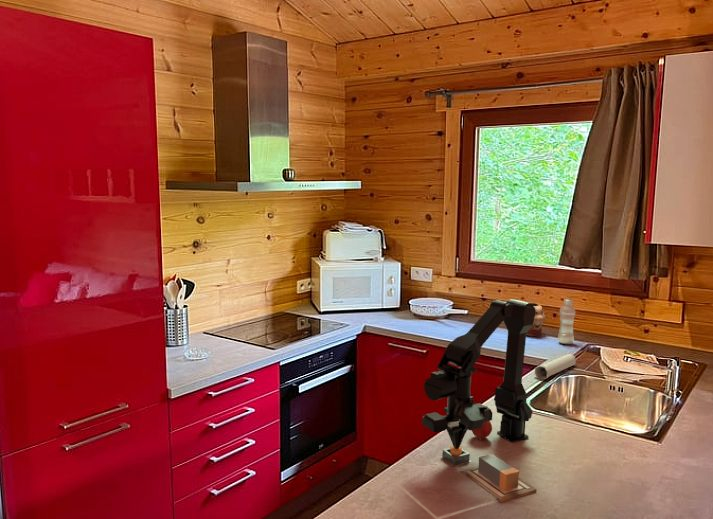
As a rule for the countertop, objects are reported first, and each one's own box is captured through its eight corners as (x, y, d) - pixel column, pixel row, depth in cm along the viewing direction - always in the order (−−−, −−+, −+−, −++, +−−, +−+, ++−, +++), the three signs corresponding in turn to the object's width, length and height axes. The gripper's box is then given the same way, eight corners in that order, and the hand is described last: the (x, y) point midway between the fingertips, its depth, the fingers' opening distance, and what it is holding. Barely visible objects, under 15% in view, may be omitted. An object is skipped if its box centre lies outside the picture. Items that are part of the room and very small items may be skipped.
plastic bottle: (575, 346, 268) (579, 301, 265) (559, 345, 269) (563, 300, 265) (570, 341, 275) (574, 297, 272) (555, 341, 275) (558, 297, 272)
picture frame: (494, 464, 161) (494, 461, 160) (536, 491, 148) (536, 488, 147) (460, 473, 155) (460, 470, 155) (500, 502, 142) (500, 499, 142)
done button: (456, 453, 164) (457, 444, 164) (463, 458, 161) (464, 449, 161) (447, 455, 163) (448, 446, 162) (454, 460, 160) (455, 451, 160)
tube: (564, 353, 246) (532, 366, 228) (576, 351, 242) (546, 365, 224) (567, 366, 245) (536, 380, 227) (579, 365, 241) (549, 379, 224)
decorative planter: (502, 328, 295) (504, 300, 292) (522, 326, 300) (524, 298, 298) (531, 339, 277) (533, 309, 275) (552, 337, 282) (554, 307, 280)
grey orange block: (490, 468, 157) (491, 453, 156) (518, 487, 148) (519, 471, 147) (478, 472, 155) (478, 456, 154) (504, 491, 146) (505, 474, 145)
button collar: (457, 453, 166) (458, 444, 166) (471, 463, 161) (472, 454, 160) (439, 458, 163) (439, 449, 163) (453, 468, 158) (453, 458, 158)
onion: (466, 437, 176) (467, 410, 175) (483, 434, 178) (484, 407, 177) (477, 445, 171) (479, 418, 170) (495, 442, 173) (496, 415, 172)
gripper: (448, 408, 148) (445, 469, 150) (508, 396, 156) (504, 454, 159) (422, 392, 158) (419, 450, 160) (480, 382, 166) (477, 436, 169)
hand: (456, 448), depth 162 cm, fingers closed, pressing on done button
